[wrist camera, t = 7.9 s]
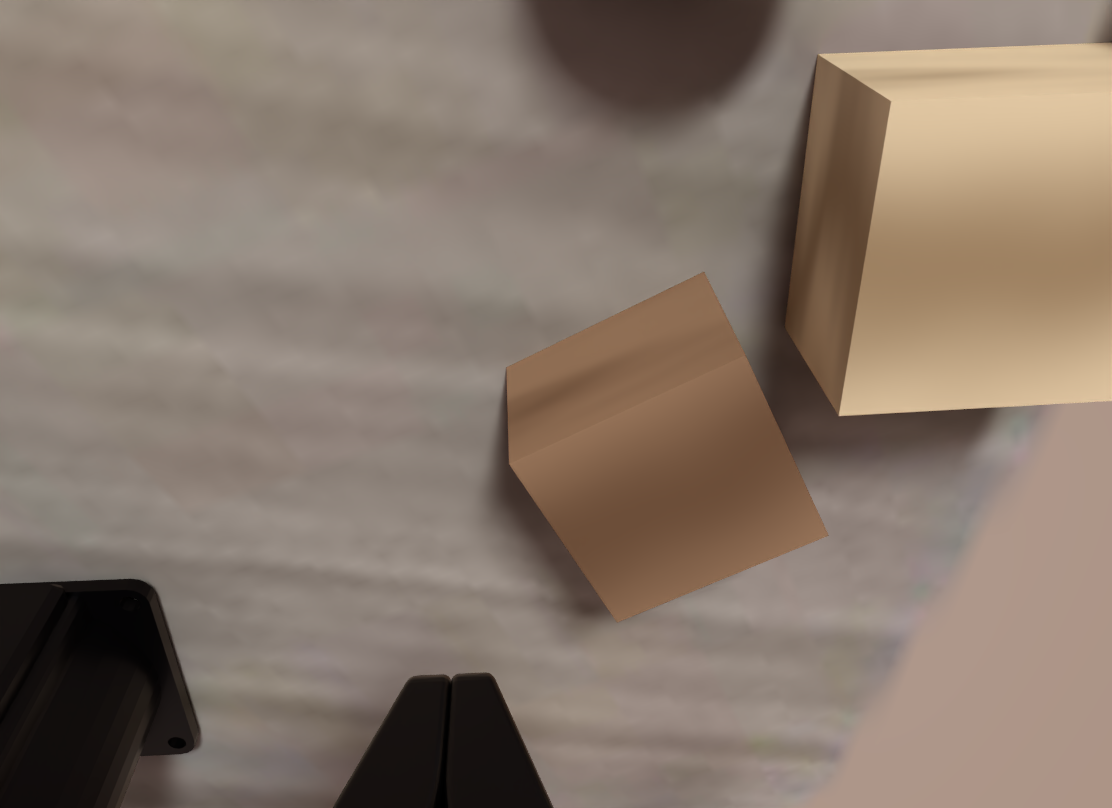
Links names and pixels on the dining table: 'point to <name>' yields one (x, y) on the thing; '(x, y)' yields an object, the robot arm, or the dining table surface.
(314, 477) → the dining table surface
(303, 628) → the dining table surface
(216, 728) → the dining table surface
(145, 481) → the dining table surface
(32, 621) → the robot arm
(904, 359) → the maple block
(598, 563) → the walnut block
